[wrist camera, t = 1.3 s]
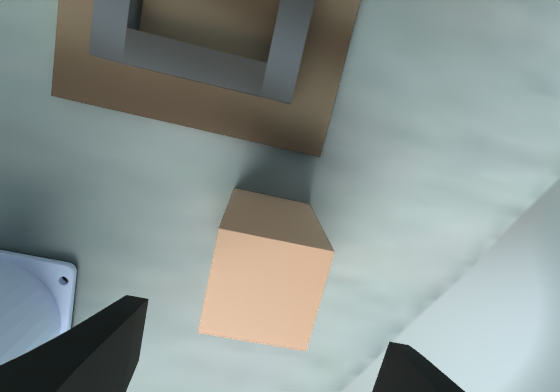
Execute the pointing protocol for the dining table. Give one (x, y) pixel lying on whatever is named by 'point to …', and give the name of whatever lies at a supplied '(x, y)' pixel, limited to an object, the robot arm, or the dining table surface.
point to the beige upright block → (266, 272)
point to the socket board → (209, 63)
